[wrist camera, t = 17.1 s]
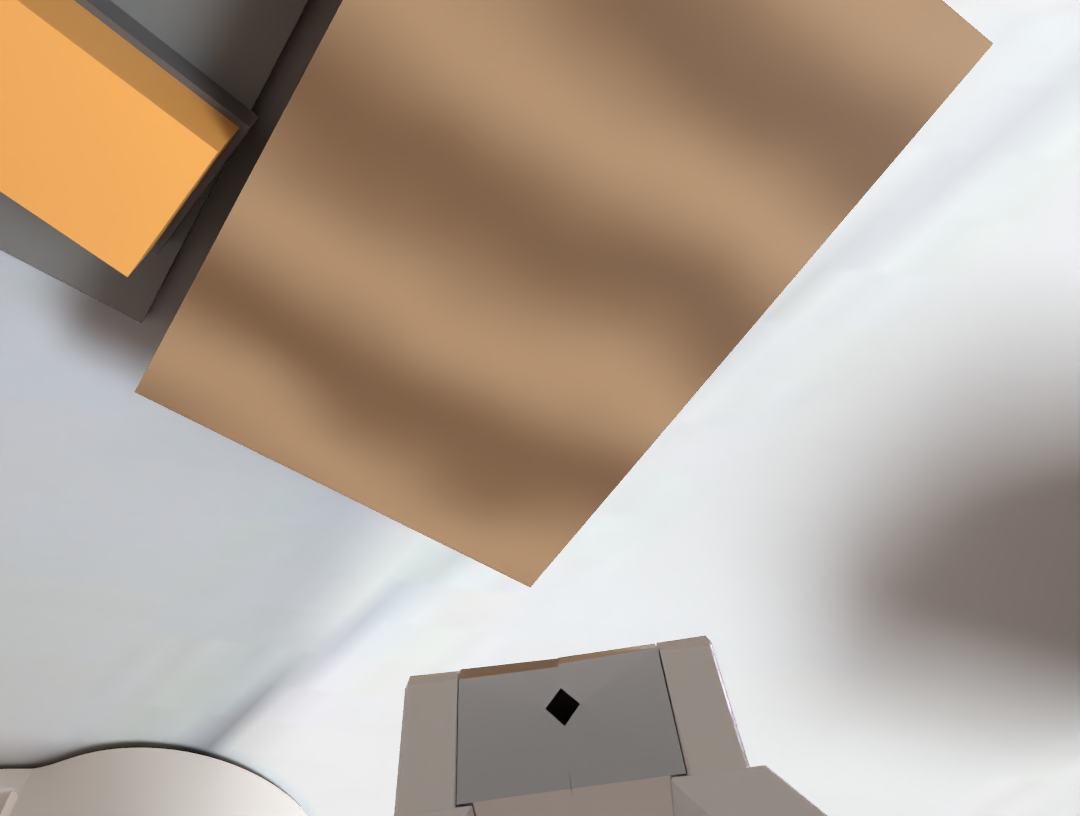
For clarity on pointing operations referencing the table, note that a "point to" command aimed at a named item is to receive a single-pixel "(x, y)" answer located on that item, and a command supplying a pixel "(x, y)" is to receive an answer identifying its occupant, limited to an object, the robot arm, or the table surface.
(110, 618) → the table surface
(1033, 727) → the table surface
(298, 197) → the riser
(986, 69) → the table surface
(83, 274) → the mat
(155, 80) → the eraser orange
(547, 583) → the table surface
